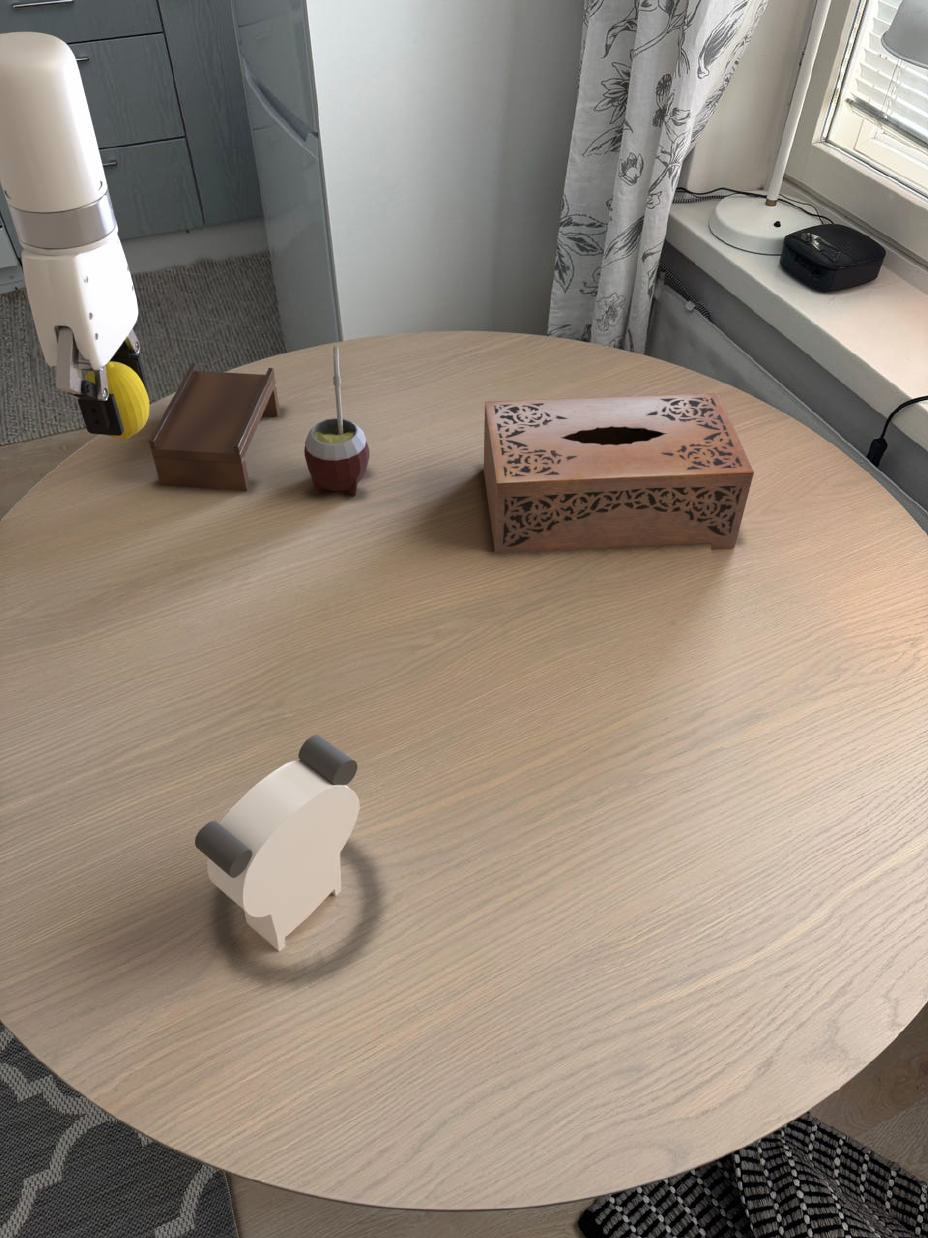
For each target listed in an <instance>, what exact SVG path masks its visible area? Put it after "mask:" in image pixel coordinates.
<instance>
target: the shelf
mask: <svg viewBox="0 0 928 1238" xmlns="http://www.w3.org/2000/svg"><path fill="white" fill-rule="evenodd" d="M274 370H275V369H274V368H273V367H268V368H267V370H266V372H265V374H260V373H243V372H242V373H241V372H223V371H205V370H198V365H197V363H195V362H194V363H193V362H192V363H191V364H190V366H189V367H188V370H187V371H186V373H185V374H184V377H183V379H182V380H181V382H180V384H179V386H178V388H177V389H176V390H175V393H174V395H173V396H172V398H171V400H170V402H169V403H168V405H167V407H166V409H165V410H164V412H163V414H162V416H161V418H160V420H159V421H158V424H157V425H156V427H155V428H154V431H153V432H152V434H151V436H150V438H149V440H148V443H149V447H150V452H151V455H152V458H153V462H154V466H155V469H156V473H157V477H158V480H159V485H160V487H161V486H162V487H176V488H190V489H192V488H193V489H208V490H223V491H236V492H248V489H249V488H250V481H249V475H248V469H247V464H246V461H245V460H246V459H245V457H246V454H247V451H248V449H249V447H250V444H251V442H252V440H253V438H254V435H255V433H256V430H257V428H258V427H259V423H260V421H261V419H262V417H277V418H278V417H279V416H280V413H281V409H280V403H279V396H278V389H277V381H276V376H275V371H274Z"/></svg>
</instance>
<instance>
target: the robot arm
mask: <svg viewBox="0 0 928 1238" xmlns="http://www.w3.org/2000/svg"><path fill="white" fill-rule="evenodd" d="M80 72H81V71H80V69H79V65H78V62H77V58H76V57H75V54H74V53H73V51H72V49H71V48H70V46H69V45H68V43H66V42H65V41H63V40H62V39H61V38H59V37H57V36H54V35H52V34H48V33H43V32H37V31H13V32H7V33H6V32H5V33H0V185H1V188H2V191H3V194H4V195H3V196H4V198H5V201H6V203H7V207H8V210H9V213H10V216H11V219H12V223H13V226H14V229H15V232H16V235H17V239H18V241H19V244H20V246H21V247H22V248H23V249H22V251H21V263H22V270H23V277H24V284H25V289H26V293H27V299H28V303H29V307H30V311H31V315H32V319H33V323H34V327H35V331H36V334H37V337H38V341H39V344H40V345H39V346H40V348H41V352H42V354H43V357H44V360H45V362H46V364H47V365H48V366H49V367H50V368H55V369H56V370H55V387H56V389H57V390H60V391H63V392H65V393H67V394H70V395H71V396H72V398H73V399H76V400H77V402H78V406H79V409H80V412H81V415H82V419H83V421H84V426H85V428H86V431H87V432H88V433H89V434H92V435H101V436H102V435H103V436H108V435H113V436H121V435H122V433H123V432H124V428H123V425H122V421H121V418H120V414H119V410H118V407H117V403H116V400H115V396H114V394H109V392H108V383H107V373H106V364H107V363H108V362H111V361H112V362H118V363H122V364H124V365H126V366H128V367H130V368H131V369H132V370H133V371H134V372H135V373H136V374H137V375H138V376H139V378H140V379H141V381H142V383H143V385H144V387H145V389H146V392H147V394H148V393H149V391H150V389H149V385H148V382H147V378H146V373H145V371H144V366H143V362H142V359H141V358H142V357H141V355H140V351H141V345H140V341H139V340H138V337H137V335H136V333H137V331H136V330H137V327H138V323H137V322H138V317H139V307H138V306H139V305H138V299H137V295H136V292H135V291H136V290H135V287H134V283H133V278H132V275H131V272H130V268H129V264H128V261H127V259H126V255H125V253H124V249H123V246H122V243H121V239H120V237H119V235H118V233H119V227H118V222H117V220H116V215H115V211H114V208H113V203H112V200H111V199H112V198H111V194H110V192H109V187H108V183H107V179H106V175H105V169H104V166H103V162H102V159H101V154H100V150H99V146H98V142H97V137H96V134H95V129H94V125H93V122H92V116H91V114H90V110H89V104H88V101H87V97H86V94H85V89H84V85H83V81H82V77H81V73H80ZM79 355H82V357H83V358H84V359H79ZM82 371H88V372H90V371H94V376H95V384H94V383H93V382H91V381H89V380H85V379H83V372H82Z"/></svg>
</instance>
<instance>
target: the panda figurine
mask: <svg viewBox="0 0 928 1238" xmlns="http://www.w3.org/2000/svg"><path fill="white" fill-rule="evenodd" d="M358 767H359V765H358V763H357V761H356V760H354V759H353V758H351V757H350V756H349V755H347V754H346V753H345V752H343V751H342V750H340V749H339V748H338V747H336V746H335V745H333V744H332V743H331V742H329V741H328V740H326V739H325V738H324V737H323V736H321V735H319V734H315V735H311V736H310V737H308V738H307V739H305V740H304V742H303V744H302V745H301V747H300V749H299V751H298V759H296V760H292V761H290V762H287V763H285V764H283V765H281V766H280V767H278V768H277V769H275V770H273V771H272V772H271V773H269V774H267V775H266V776H265V777H264V778H262V779H261V780H259V782H257V783H256V784H255V785H254V786H253V787H251V788H250V789H249V790H248V791H247V792H246V793H245V794H244V795H243V796H242V797H241V798H240V799H239V800H237V801H236V803H235V804H234V805H233V806H232V807H231V808H230V809H229V811H228V812H227V813H226V814H225V815H224V817H222V819H221V821H219V822H220V823H218V821H215V820H211V821H209V822H208V823H206V824H205V825H203V827H201V828H200V829H199V830H198V832H197V833H196V835H195V837H194V846H195V847H196V849H197V850H198V851H200V852H201V853H202V854H203V855H204V856H206V871H207V876H208V878H209V880H210V882H211V883H212V884H213V885H215V886H216V887H217V888H218V889H219V890H220V891H221V892H222V893H224V894H225V895H226V896H227V897H228V898H229V899H231V901H233V902H234V903H235V904H236V905H238V907H240V908H241V909H242V910H243V912H244V919H245V923H246V924H247V925H248V926H249V927H251V928H252V930H253V931H255V932H256V933H257V934H258V935H260V936H261V937H262V938H263V939H264V940H265V941H266V942H268V943H269V944H270V945H271V946H272V947H273V948H275V949H276V950H277V951H278V952H281V951H282V950H283V949H284V948H285V947H286V938H287V936H289V935H290V934H291V933H292V932H293V931H294V930H296V928H297V927H299V926H300V925H301V924H302V923H304V922H305V920H306V919H307V918H309V917H310V915H312V914H313V912H315V910H316V909H318V907H320V905H321V904H322V903H323V902H324V901H325V900H326V899H327V898H328V896H329V895H331V893H332V894H333V895H334V896H335V897H336V896H338V895H339V894H340V893H341V892H342V873H341V872H342V871H341V852H342V851H343V849H344V847H345V846H346V844H347V842H348V841H349V838H350V836H351V834H352V833H353V830H354V828H355V825H356V823H357V819H358V817H359V813H360V810H361V809H360V807H361V806H360V805H361V804H360V800H359V799H360V798H359V797H358V794H357V793H356V792H355V791H354V790H353V789H352V788H350V787H349V786H347V785H348V784H349V783H350V782H352V780H353V779H354V778H355V776H356V774H357V771H358Z"/></svg>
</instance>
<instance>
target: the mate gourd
mask: <svg viewBox="0 0 928 1238" xmlns="http://www.w3.org/2000/svg"><path fill="white" fill-rule="evenodd" d="M339 350H340V349H339V346H337V345H335V346H333V354H332V355H333V376H332V381H333V386H334V393H335V405H336V417H333V418H327V419H323V420H321V421H319V422H317V423H315V425H313V426H312V427H311V429H310V430H309V432H308V433H307V436H306V439H305V441H304V449H303V451H304V454H303V455H304V458H305V463H306V466H307V470H308V472H309V474H310V476H311V481H312V483H313V486H314V488H315V490H316V492H317V494H318V495H322V494H324V493H327V492H329V491H332V492H346V493H347V494H349V495H350V496H352V497H356V495H357V491H358V484H359V483H360V482H361V481H362V479H363V478H364V477H365V474H366V472H367V468H368V464H369V461H370V447H369V444H368V442H367V437H366V435H365V432H364V431H363V430H362V428H360V427H359V426H358V425H357V424H356V423H355V422H354V421H352V420H348V419H346V418H343V408H342V395H341V393H342V392H341V386H342V377H341V376H340V357H339V356H340V355H339V353H340V351H339Z"/></svg>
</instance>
